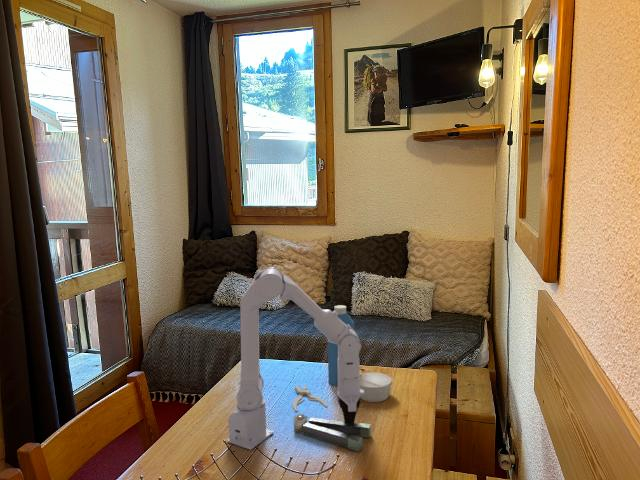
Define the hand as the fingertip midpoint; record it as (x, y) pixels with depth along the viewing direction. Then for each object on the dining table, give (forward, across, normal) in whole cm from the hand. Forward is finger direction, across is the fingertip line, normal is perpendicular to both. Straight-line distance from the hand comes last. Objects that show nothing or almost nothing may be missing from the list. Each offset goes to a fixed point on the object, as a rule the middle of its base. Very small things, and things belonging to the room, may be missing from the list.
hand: (349, 425), depth 125 cm
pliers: (+2, +20, +11) cm, 23 cm away
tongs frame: (+1, -3, +6) cm, 7 cm away
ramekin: (+2, +20, -10) cm, 22 cm away
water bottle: (+2, +32, -1) cm, 32 cm away
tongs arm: (+1, -1, +3) cm, 3 cm away
